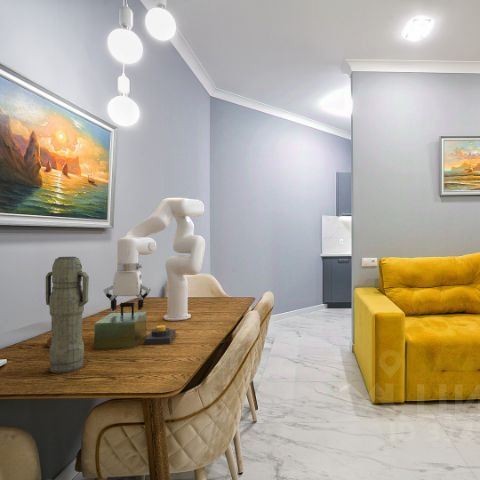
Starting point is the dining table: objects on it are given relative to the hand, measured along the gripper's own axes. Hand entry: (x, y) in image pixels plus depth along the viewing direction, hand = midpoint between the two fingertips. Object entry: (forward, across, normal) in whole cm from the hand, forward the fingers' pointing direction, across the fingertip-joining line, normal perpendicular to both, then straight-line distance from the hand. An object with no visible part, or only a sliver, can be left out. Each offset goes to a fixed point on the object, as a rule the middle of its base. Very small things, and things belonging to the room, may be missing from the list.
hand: (127, 309), depth 143 cm
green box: (+11, 0, +6) cm, 13 cm away
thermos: (+12, +8, +31) cm, 34 cm away
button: (+8, -14, +5) cm, 17 cm away
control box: (+11, -14, +5) cm, 19 cm away
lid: (+3, 0, +6) cm, 6 cm away
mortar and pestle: (+12, +22, +6) cm, 26 cm away
